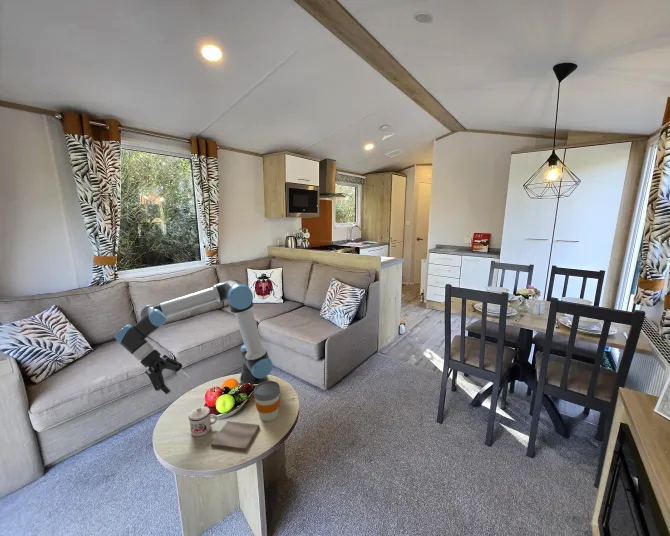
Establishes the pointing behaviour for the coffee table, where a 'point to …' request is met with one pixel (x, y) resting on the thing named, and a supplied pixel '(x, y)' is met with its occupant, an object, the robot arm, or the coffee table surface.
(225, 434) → the walnut board
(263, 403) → the reusable coffee cup
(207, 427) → the teacup with lid
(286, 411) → the coffee table surface
